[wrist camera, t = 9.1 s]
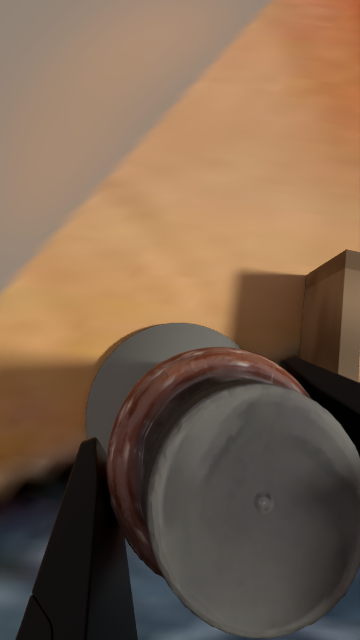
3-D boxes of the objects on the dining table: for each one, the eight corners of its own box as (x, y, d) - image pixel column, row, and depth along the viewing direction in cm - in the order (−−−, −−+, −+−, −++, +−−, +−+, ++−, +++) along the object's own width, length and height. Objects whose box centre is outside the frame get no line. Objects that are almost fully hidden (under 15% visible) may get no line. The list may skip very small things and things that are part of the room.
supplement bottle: (106, 459, 15) (7, 655, 4) (148, 346, 17) (153, 278, 6) (219, 497, 16) (394, 776, 5) (252, 383, 17) (450, 388, 6)
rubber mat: (256, 524, 17) (258, 527, 16) (67, 497, 16) (65, 500, 16) (276, 340, 19) (278, 340, 18) (108, 309, 18) (108, 307, 18)
